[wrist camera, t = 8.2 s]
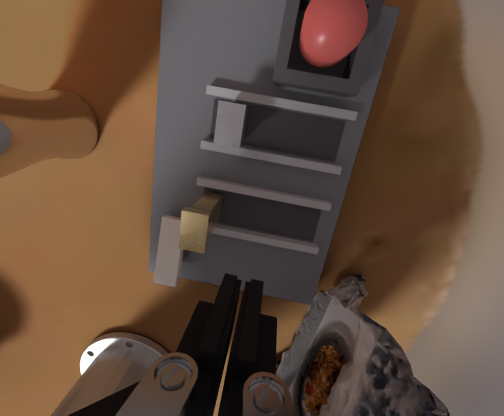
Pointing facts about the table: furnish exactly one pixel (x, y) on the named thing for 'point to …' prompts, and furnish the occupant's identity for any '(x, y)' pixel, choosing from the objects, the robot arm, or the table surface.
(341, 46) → the button
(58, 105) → the beer glass
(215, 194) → the brass slider
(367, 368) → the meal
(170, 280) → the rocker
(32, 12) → the table surface
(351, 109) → the panel
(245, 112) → the steel slider
